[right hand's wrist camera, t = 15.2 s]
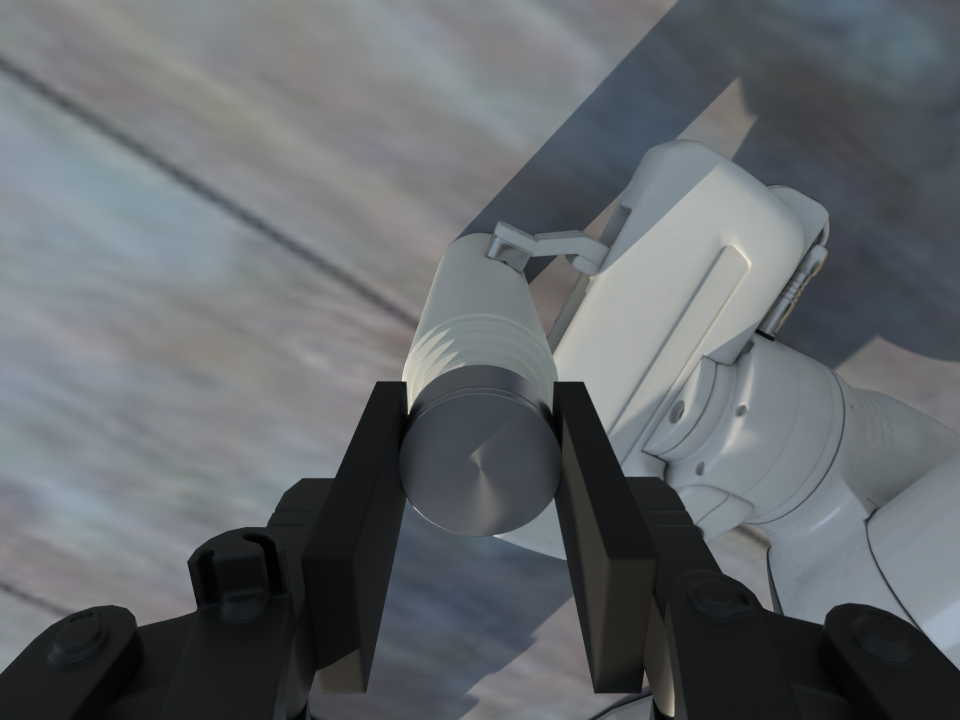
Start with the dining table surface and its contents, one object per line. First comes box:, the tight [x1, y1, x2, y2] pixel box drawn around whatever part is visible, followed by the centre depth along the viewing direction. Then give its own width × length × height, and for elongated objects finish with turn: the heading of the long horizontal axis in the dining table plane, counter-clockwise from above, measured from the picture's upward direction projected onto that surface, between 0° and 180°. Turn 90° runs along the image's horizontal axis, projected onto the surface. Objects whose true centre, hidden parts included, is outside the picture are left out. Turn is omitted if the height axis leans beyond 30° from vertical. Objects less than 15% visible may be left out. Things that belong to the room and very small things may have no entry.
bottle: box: [402, 233, 558, 414], centre depth 23 cm, size 5×5×20 cm
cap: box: [399, 365, 562, 537], centre depth 14 cm, size 4×4×2 cm
